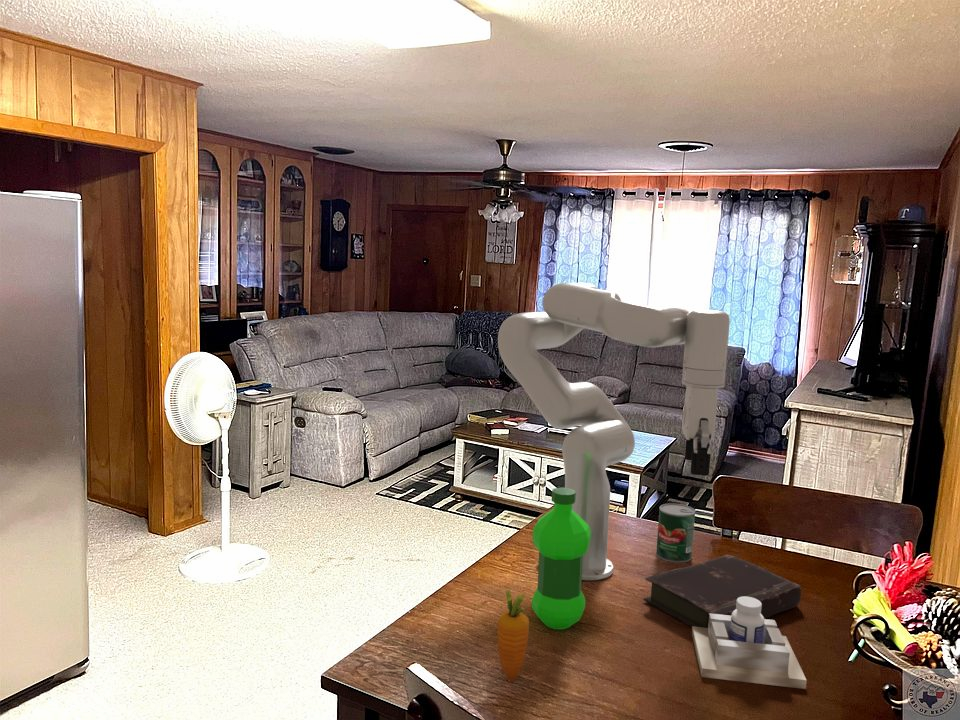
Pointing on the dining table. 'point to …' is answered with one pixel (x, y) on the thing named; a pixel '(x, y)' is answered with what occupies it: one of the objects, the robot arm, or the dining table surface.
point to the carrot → (512, 637)
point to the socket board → (744, 673)
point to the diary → (720, 590)
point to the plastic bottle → (560, 562)
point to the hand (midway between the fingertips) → (696, 467)
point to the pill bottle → (747, 621)
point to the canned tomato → (675, 533)
